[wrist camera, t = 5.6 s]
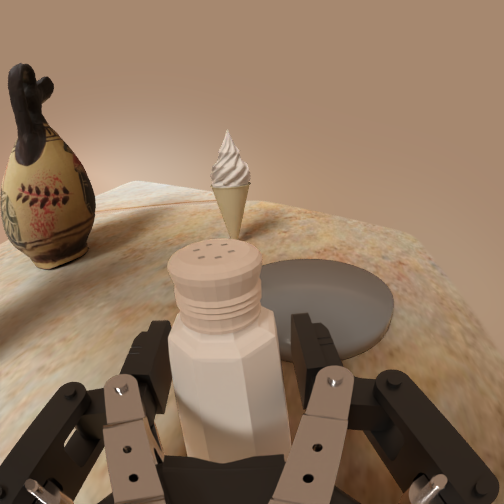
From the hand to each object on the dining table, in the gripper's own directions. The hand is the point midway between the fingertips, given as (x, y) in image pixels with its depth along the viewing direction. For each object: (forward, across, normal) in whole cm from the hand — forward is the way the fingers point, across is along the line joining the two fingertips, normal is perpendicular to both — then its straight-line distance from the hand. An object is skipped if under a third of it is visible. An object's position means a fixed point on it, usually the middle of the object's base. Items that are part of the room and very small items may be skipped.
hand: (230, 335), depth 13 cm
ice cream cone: (+27, +1, +6) cm, 28 cm away
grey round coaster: (+11, -6, +6) cm, 14 cm away
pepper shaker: (-3, 0, +6) cm, 7 cm away
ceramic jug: (+27, +28, +6) cm, 39 cm away
